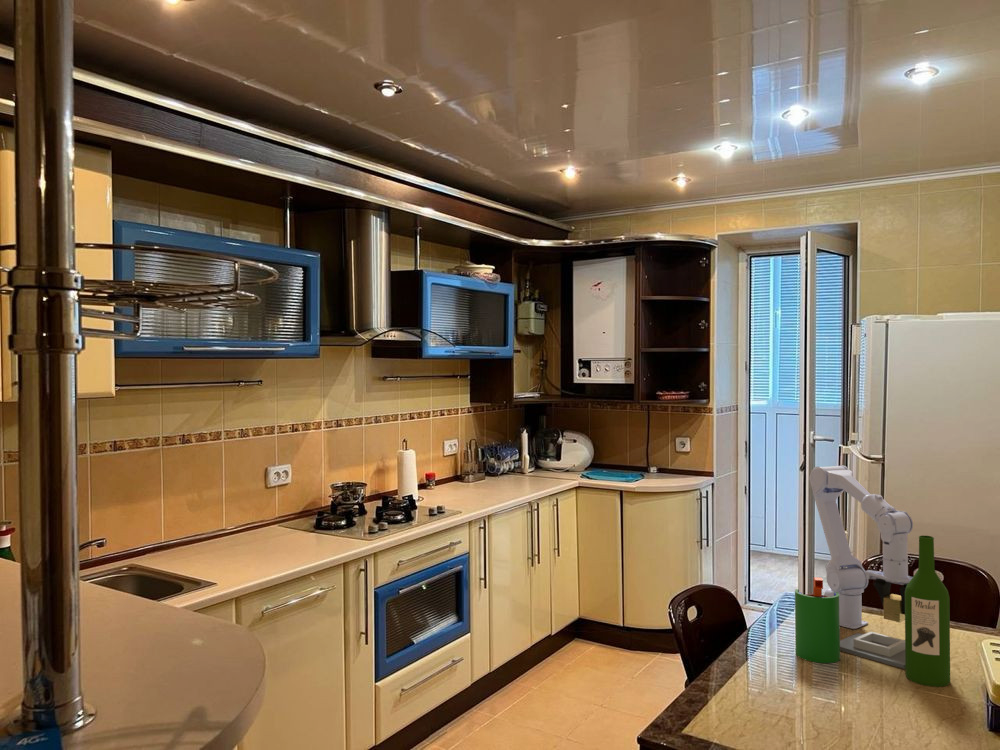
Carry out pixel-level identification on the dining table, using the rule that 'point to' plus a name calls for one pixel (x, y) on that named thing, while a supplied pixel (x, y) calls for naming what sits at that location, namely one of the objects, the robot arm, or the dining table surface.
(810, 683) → the dining table surface
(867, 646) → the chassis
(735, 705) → the dining table surface
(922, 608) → the wine bottle
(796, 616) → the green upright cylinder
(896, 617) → the tan rectangular block
